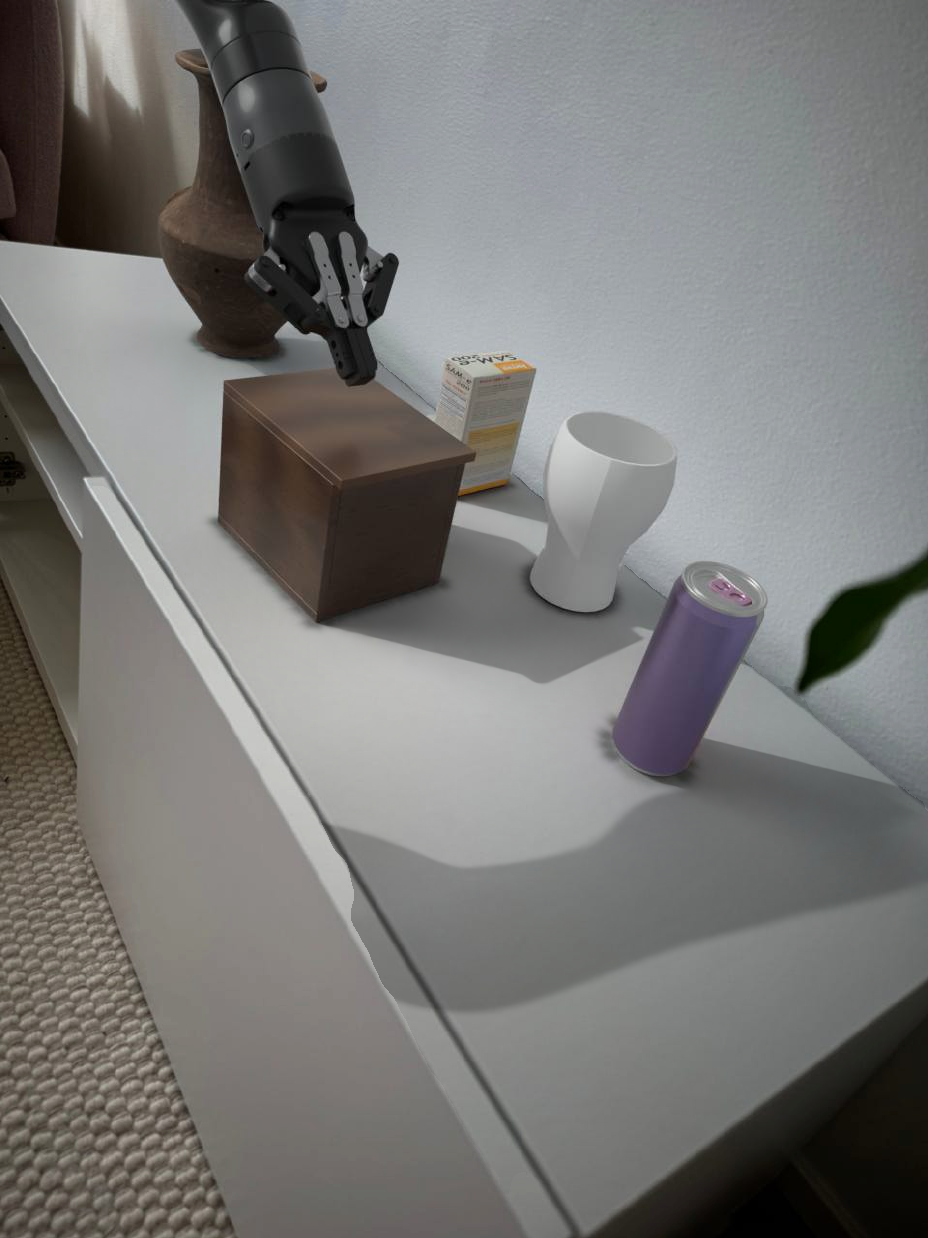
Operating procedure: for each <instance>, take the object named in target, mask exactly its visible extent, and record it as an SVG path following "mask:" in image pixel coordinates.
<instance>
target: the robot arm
mask: <svg viewBox="0 0 928 1238" xmlns="http://www.w3.org/2000/svg"><path fill="white" fill-rule="evenodd" d="M171 1H172V3H173V4H174V7H176V9H177V10H178V12H179V14H180V15H181V16H182V17H183V19H184V21H185V23H186V25H188V27H189V29H190V30H191V32H192V34H193V36H194V37H195V40H196V41H197V43H198V45H199V47H200V48H199V49H201V50H202V52H203V54H204V56H205V59H206V61H207V64H208V67H209V69H210V72H211V75H212V78H213V81H214V84H215V87H216V90H217V93H218V96H219V99H220V102H221V106H222V109H223V111H224V115H225V119H226V124H227V130H228V135H229V139H230V143H231V147H232V150H233V153H234V156H235V159H236V162H237V165H238V168H239V171H240V174H241V177H242V180H243V183H244V186H245V189H246V192H247V195H248V198H249V201H250V204H251V207H252V211H253V214H254V217H255V220H256V223H257V226H258V228H259V230H260V231H261V233H262V234H263V242H262V247H263V251H264V253H265V254H264V255H263V256H260V257H259V259H258V260H257V261H255V262H254V264H253V265H252V266H251V267H250V268H249V270H248V272H247V273H246V274H245V281H246V283H247V284H248V285H249V286H250V287H251V288H252V289H253V290H255V291H256V292H257V293H258V294H259V295H260V296H261V297H262V298H263V299H264V300H265V301H267V302H268V303H269V304H270V305H271V306H272V307H273V308H274V309H275V310H276V311H277V312H278V313H280V314H281V315H282V316H283V317H284V318H285V319H286V320H287V321H288V322H287V323H289V324H290V325H291V326H293V328H294V329H296V330H297V331H298V332H299V333H300V334H302V335H305V336H308V335H310V334H311V333H312V334H316V335H319V336H320V337H321V339H322V340H324V341H326V343H327V346H328V349H329V353H330V355H331V358H332V361H333V364H334V366H335V367H334V368H336V370H337V373H338V375H339V376H340V378H341V379H342V380H345V383H346V385H347V386H348V387H351V386H359V385H366V384H367V383H368V382H370V381H371V380H373V379H375V378H376V376H377V371H378V369H379V368H378V367H379V366H378V365H379V363H378V360H377V357H376V354H375V351H374V347H373V344H372V341H371V338H370V336H369V332H368V328H369V327H370V326H372V325H373V324H374V323H375V322H376V321H377V320H378V319H380V318H381V317H382V316H383V315H384V313H385V312H386V311H385V310H386V307H387V304H388V301H389V298H390V294H391V291H392V289H393V288H392V287H393V284H394V281H395V278H396V275H397V271H398V268H399V266H400V260H399V258H398V256H397V255H396V254H395V253H392V252H388V253H387V254H385V255H382V254H381V253H380V252H378V251H376V250H375V249H374V248H372V247H370V246H369V241H368V240H369V239H368V237H367V235H366V233H365V232H364V230H363V229H362V228H361V226H360V224H359V223H358V221H357V219H356V211H355V210H356V209H355V208H356V207H355V206H356V205H355V204H356V199H355V196H354V192H353V189H352V186H351V183H350V179H349V177H348V173H347V171H346V167H345V164H344V162H343V158H342V156H341V152H340V148H339V146H338V143H337V140H336V137H335V133H334V131H333V128H332V124H331V122H330V119H329V116H328V113H327V111H326V108H325V105H324V104H323V101H322V99H321V96H320V95H319V93H317V91H316V89H315V86H314V83H313V80H312V77H311V74H310V71H311V70H310V68H309V65H308V61H307V58H306V56H305V53H304V50H303V46H302V43H301V40H300V37H299V34H298V32H297V29H296V26H295V24H294V22H293V20H292V18H291V16H290V15H289V13H288V12H287V11H286V10H285V8H283V7H282V6H281V5H280V4H277V3H276V2H273V1H271V0H171ZM362 269H363V270H362ZM361 272H362V273H363V275H362V277H361ZM363 281H364V282H365V285H363Z"/></svg>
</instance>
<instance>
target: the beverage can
mask: <svg viewBox="0 0 928 1238" xmlns="http://www.w3.org/2000/svg"><path fill="white" fill-rule="evenodd" d="M768 599H769V598H768V595H767V592H766V591H765V589H764V588H763V586H762V585H761V583H759V582H758V581H757V580H755V579H754V577H752V576H750V575H749V574H747V573H745V572H744V571H742V570H741V569H738V568H736V567H733V566H731V565H728V564H725V563H723V562H717V561H711V560H700V561H699V560H697V561H692V562H690V563H688V564H686V566H685V567H684V568H683V569H682V571H681V574H680V575H679V576H678V577H677V578H676V579H675V580H674V582H673V584H672V587H671V589H670V591H669V594H668V596H667V599H666V601H665V604H664V606H663V609H662V611H661V613H660V615H659V618H658V620H657V622H656V625H655V627H654V629H653V632H652V633H651V637H650V639H649V642H648V644H647V647H646V648H645V650H644V651H645V652H644V654H643V656H642V658H641V660H640V663H639V665H638V668H637V670H636V673H635V675H634V677H633V679H632V682H631V685H630V687H629V689H628V692H627V694H626V697H625V699H624V701H623V703H622V706H621V708H620V711H619V713H618V716H617V717H616V720H615V722H614V725H613V727H612V730H611V731H612V732H611V733H612V735H611V736H612V741H613V745H614V748H615V750H616V752H617V753H618V755H619V756H620V758H621V759H622V760H623V762H625V763H626V764H627V765H628V766H629V767H631V768H633V770H636V771H638V772H640V773H642V774H645V775H647V776H652V777H660V778H661V777H670V776H673V775H676V774H678V773H681V772H683V771H684V770H686V769H687V768H688V767H689V765H690V764H691V762H692V760H693V758H694V757H695V754H696V752H697V750H698V748H699V746H700V744H701V742H702V740H703V738H704V737H705V734H706V733H707V731H708V729H709V727H710V725H711V723H712V720H713V719H714V717H715V715H716V713H717V711H718V709H719V707H720V705H721V703H722V701H723V699H724V698H725V696H726V694H727V691H728V689H729V687H730V686H731V683H732V681H733V679H734V678H735V676H736V673H737V671H738V670H739V668H740V666H741V664H742V662H743V660H744V658H745V656H746V654H747V652H748V650H749V648H750V646H751V644H752V643H753V640H754V638H755V637H756V634H757V632H758V630H759V628H760V627H761V624H762V622H763V621H764V618H765V610H766V608H767V606H768V601H769V600H768Z"/></svg>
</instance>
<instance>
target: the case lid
mask: <svg viewBox="0 0 928 1238" xmlns="http://www.w3.org/2000/svg"><path fill="white" fill-rule="evenodd" d="M222 383H223V386H222V389H223V391H225V392H227V393H228V394H229V395H230V396H231V397H232V398H234V399H235V400H236V401H237V402H238V403H239V404H241V405H242V406H243V407H244V408H245V409H246V410H248V411H249V412H250V413H251V414H252V415H253V416H255V417H256V418H257V419H258V420H259V421H260V422H262V423H263V424H264V425H265V426H266V427H267V428H269V429H270V430H271V431H272V432H273V433H274V434H276V435H277V436H278V437H279V438H280V439H281V440H283V441H284V442H285V443H286V444H287V445H288V446H290V447H291V448H292V449H293V450H294V451H295V452H297V453H298V454H299V455H300V456H301V457H302V458H304V459H305V460H306V461H307V462H308V463H309V464H311V465H312V466H313V467H314V468H315V469H316V470H318V471H319V472H320V473H321V474H322V475H323V476H325V477H326V478H327V479H328V480H329V481H330V482H332V483H333V484H334V485H335V486H336V487H337V488H339V489H340V490H345V489H350V488H354V487H359V486H363V485H368V484H373V483H377V482H382V481H386V480H391V479H395V478H400V477H405V476H409V475H414V474H418V473H423V472H427V471H432V470H437V469H441V468H446V467H450V466H455V465H459V464H464V463H469V462H473V461H475V457H476V452H475V451H474V450H473V449H471V448H470V447H468V446H467V445H466V444H464V443H463V442H461V441H460V440H459V439H457V438H456V437H454V436H453V435H452V434H450V433H449V432H447V431H446V430H445V429H443V428H442V427H440V426H439V425H438V424H436V423H435V422H434V420H432V419H431V418H429V417H428V416H426V415H425V414H424V413H422V412H421V411H419V410H418V409H416V408H415V407H414V406H413V405H411V404H410V403H408V401H407V402H406V401H405V400H404V399H403V398H401V397H400V396H398V395H397V394H396V393H394V392H393V391H392V390H390V389H389V388H387V387H386V386H385V385H383V384H382V383H380V382H379V381H377V380H376V379H375V378H374V379H373V380H371V381H370V382H368V383H367V384H366V385H359V386H351V387H348V386H347V385H346V383H345V380H342V379H341V378H340V376H339V375H338V373H337V370H336V367H328V368H321V369H319V368H318V369H311V370H303V371H295V372H293V371H292V372H286V373H276V374H267V375H260V376H250V377H242V378H234V379H225V380H223V382H222Z"/></svg>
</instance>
